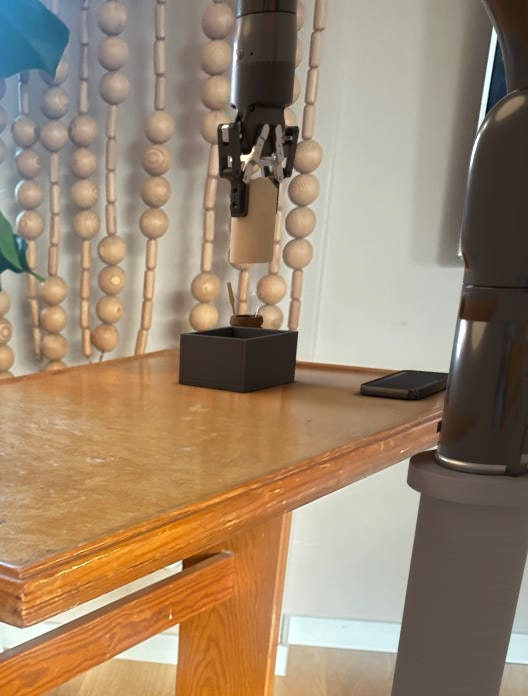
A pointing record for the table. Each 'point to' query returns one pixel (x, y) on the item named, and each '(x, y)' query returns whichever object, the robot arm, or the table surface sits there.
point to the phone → (406, 384)
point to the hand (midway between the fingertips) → (253, 216)
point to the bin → (237, 358)
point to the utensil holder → (245, 319)
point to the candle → (255, 225)
